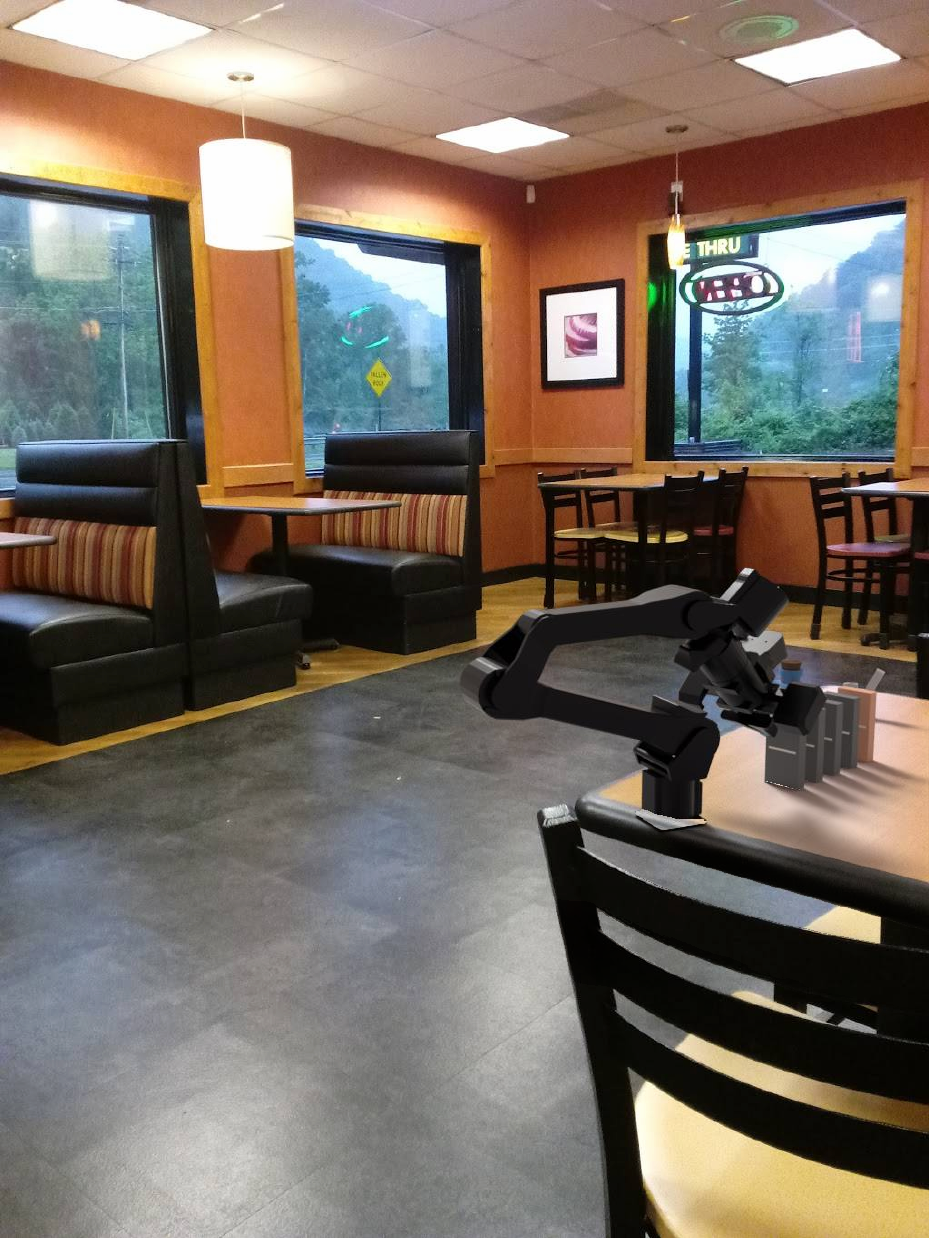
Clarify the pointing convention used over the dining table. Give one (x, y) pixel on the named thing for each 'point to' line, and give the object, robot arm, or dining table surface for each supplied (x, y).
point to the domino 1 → (785, 759)
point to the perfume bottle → (789, 673)
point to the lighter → (871, 684)
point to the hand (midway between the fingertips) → (773, 734)
